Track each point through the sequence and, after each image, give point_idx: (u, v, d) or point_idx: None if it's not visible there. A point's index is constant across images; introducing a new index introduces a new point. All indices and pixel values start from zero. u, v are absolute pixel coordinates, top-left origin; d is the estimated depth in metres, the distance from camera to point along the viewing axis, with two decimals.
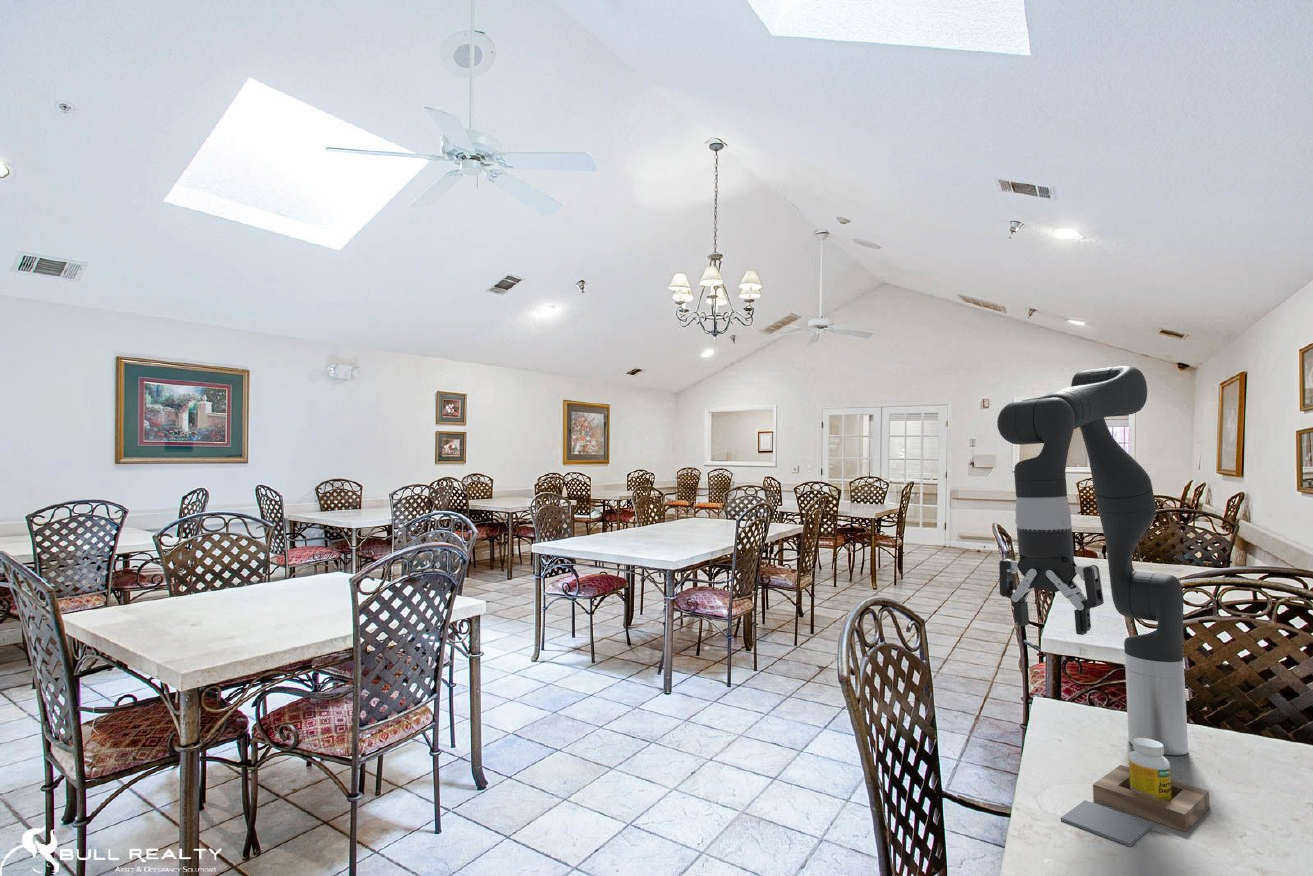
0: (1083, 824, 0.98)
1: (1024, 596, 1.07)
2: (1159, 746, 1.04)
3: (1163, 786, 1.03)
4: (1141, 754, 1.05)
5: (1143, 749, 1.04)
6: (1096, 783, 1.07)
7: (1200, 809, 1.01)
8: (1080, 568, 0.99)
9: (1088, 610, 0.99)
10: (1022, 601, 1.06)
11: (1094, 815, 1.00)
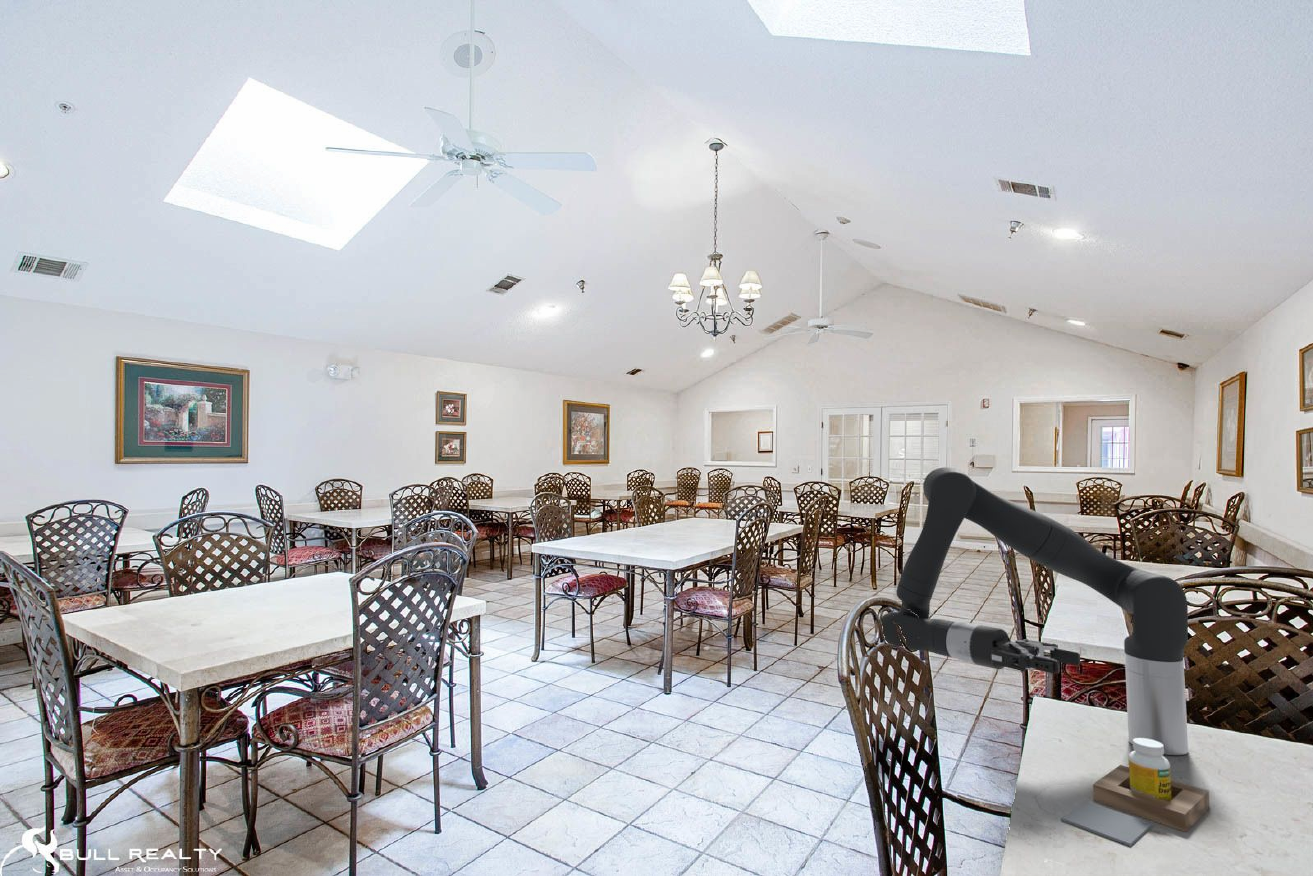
0: (1083, 824, 0.98)
1: (1051, 650, 1.21)
2: (1159, 746, 1.04)
3: (1163, 786, 1.03)
4: (1141, 754, 1.05)
5: (1143, 749, 1.04)
6: (1096, 783, 1.07)
7: (1200, 809, 1.01)
8: None
9: (1033, 662, 1.15)
10: (1055, 656, 1.20)
11: (1094, 815, 1.00)
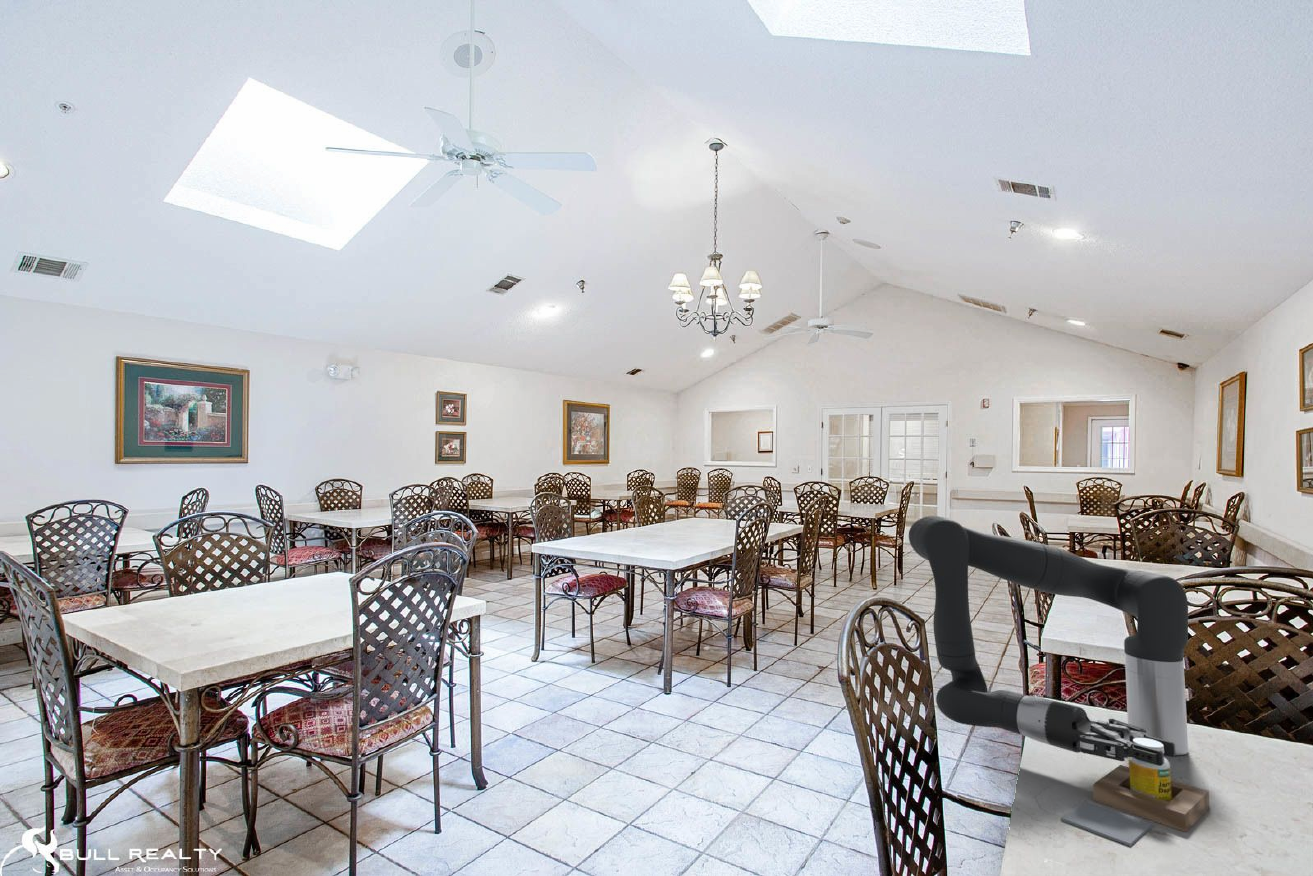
0: (1083, 824, 0.98)
1: (1139, 737, 1.09)
2: (1159, 746, 1.04)
3: (1164, 786, 1.02)
4: None
5: None
6: (1096, 783, 1.07)
7: (1200, 809, 1.01)
8: None
9: (1132, 751, 1.04)
10: None
11: (1094, 815, 1.00)
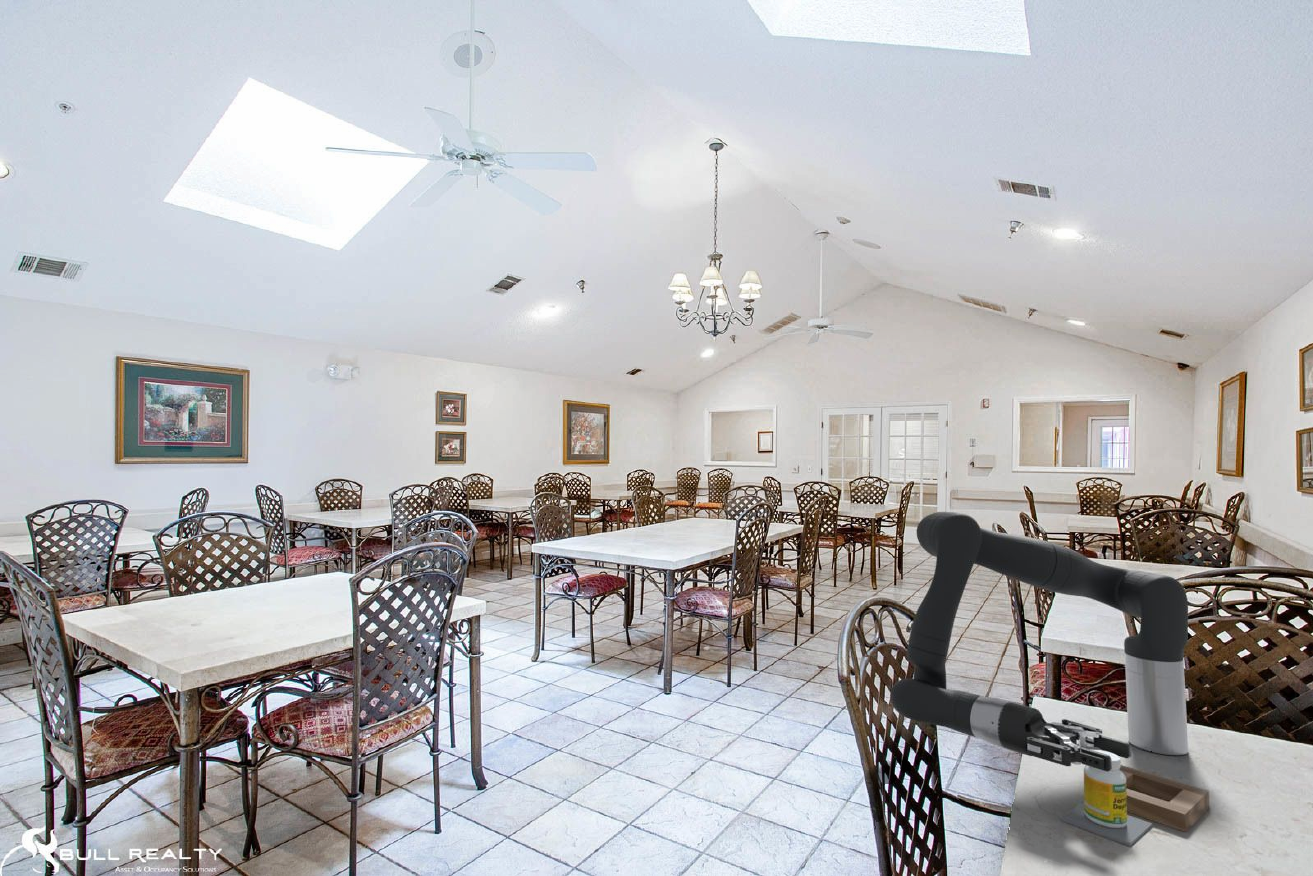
0: (1083, 824, 0.98)
1: (1094, 738, 1.04)
2: (1115, 759, 0.98)
3: (1118, 802, 0.97)
4: (1096, 768, 0.99)
5: None
6: None
7: (1200, 809, 1.01)
8: None
9: (1079, 756, 0.98)
10: (1100, 744, 1.03)
11: None
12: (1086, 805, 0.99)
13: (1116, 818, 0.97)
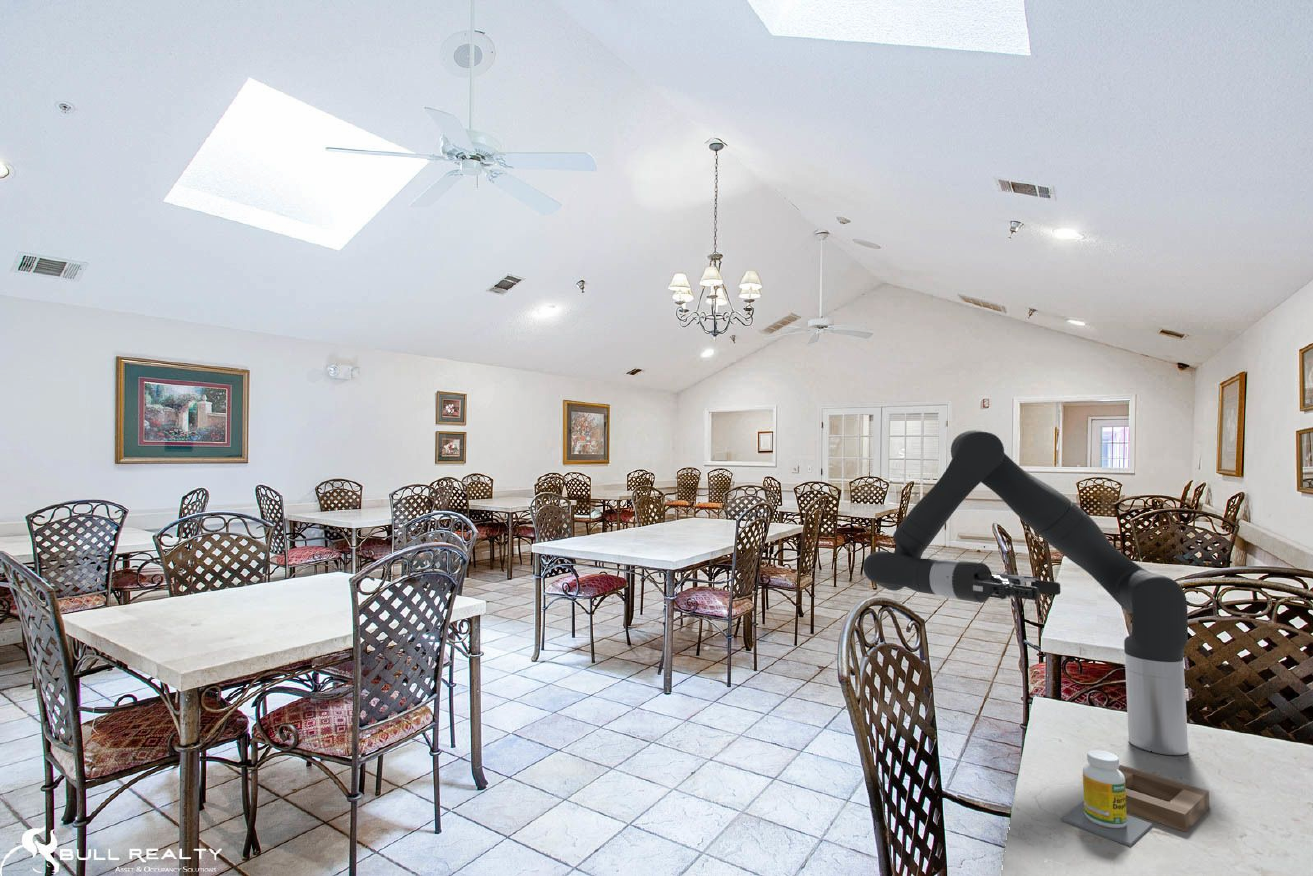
0: (1083, 824, 0.98)
1: (1032, 582, 1.22)
2: (1114, 759, 0.98)
3: (1118, 801, 0.97)
4: (1095, 768, 0.99)
5: (1098, 762, 0.98)
6: None
7: (1200, 809, 1.01)
8: None
9: (1013, 590, 1.16)
10: (1036, 587, 1.22)
11: None
12: (1086, 806, 0.99)
13: (1116, 818, 0.97)
